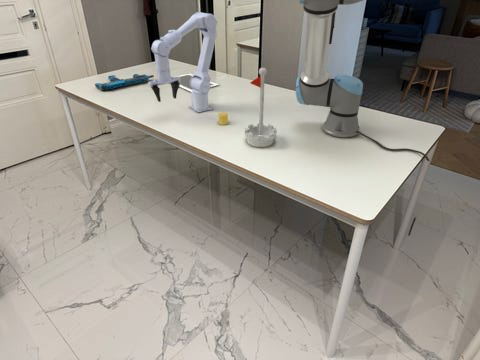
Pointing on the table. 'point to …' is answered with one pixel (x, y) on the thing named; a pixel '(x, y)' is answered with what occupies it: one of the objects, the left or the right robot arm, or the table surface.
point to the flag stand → (260, 120)
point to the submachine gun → (122, 81)
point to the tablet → (186, 82)
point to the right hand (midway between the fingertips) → (327, 41)
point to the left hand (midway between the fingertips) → (167, 99)
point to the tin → (223, 118)
